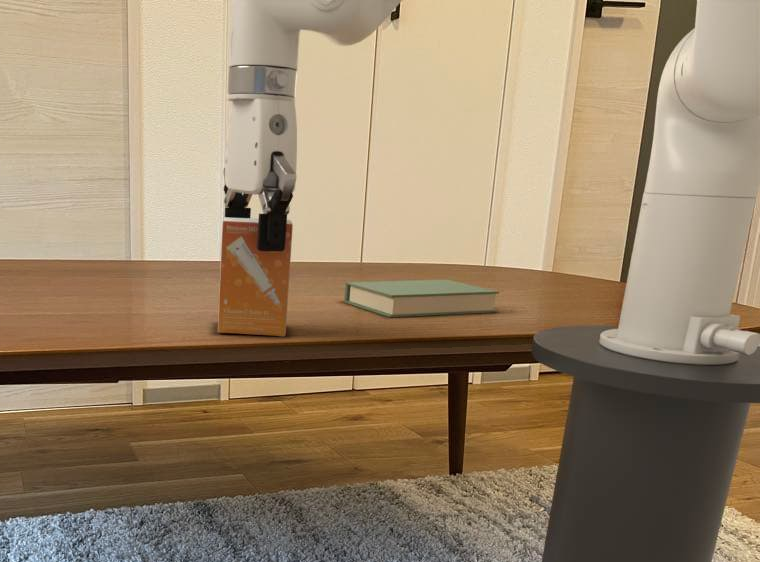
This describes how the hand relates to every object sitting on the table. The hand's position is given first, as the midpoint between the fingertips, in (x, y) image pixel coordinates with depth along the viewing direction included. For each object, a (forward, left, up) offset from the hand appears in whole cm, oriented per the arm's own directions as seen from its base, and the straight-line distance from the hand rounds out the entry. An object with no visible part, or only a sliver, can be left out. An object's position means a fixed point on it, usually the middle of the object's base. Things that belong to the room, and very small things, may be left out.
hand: (252, 245), depth 90 cm
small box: (0, 0, -10) cm, 10 cm away
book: (+9, -31, -10) cm, 34 cm away
